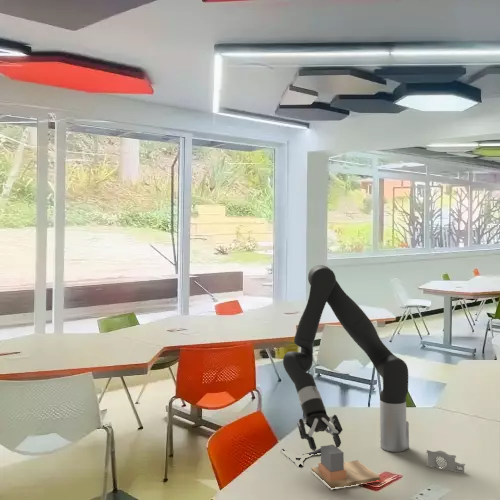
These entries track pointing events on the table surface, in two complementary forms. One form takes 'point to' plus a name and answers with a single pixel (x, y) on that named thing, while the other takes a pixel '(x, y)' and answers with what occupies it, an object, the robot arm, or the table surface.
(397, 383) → the robot arm
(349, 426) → the table surface
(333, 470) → the block
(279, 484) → the table surface
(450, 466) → the garden wall model
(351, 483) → the oak board
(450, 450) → the table surface
